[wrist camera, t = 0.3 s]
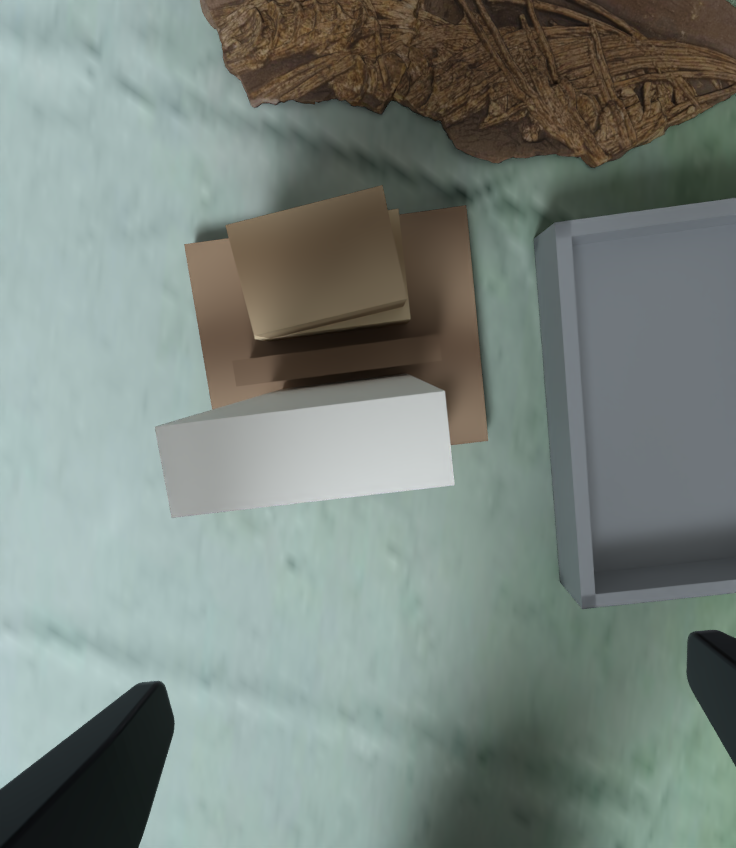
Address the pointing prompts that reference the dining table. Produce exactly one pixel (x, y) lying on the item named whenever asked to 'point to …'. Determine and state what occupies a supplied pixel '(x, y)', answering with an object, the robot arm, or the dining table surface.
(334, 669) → the dining table surface
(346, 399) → the sheet
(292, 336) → the offcut lower
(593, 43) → the wooden fragment
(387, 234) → the offcut upper
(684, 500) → the tray
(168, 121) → the dining table surface
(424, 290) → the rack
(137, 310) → the dining table surface
